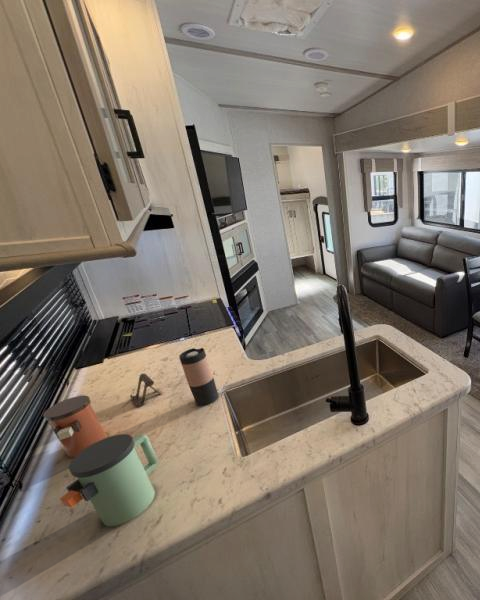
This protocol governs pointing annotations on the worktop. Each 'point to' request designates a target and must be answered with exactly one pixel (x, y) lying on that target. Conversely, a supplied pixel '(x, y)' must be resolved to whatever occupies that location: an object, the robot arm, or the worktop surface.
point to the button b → (65, 433)
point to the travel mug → (199, 376)
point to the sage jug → (115, 477)
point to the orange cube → (71, 498)
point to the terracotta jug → (76, 423)
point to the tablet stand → (148, 383)
